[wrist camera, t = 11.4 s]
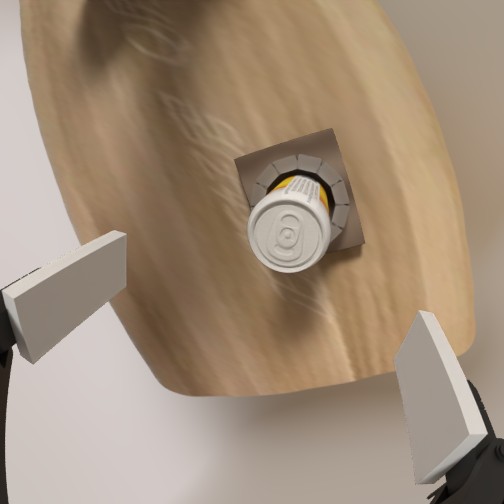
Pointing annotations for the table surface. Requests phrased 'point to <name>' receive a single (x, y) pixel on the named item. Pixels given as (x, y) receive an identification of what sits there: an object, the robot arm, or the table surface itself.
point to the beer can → (291, 225)
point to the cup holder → (311, 164)
